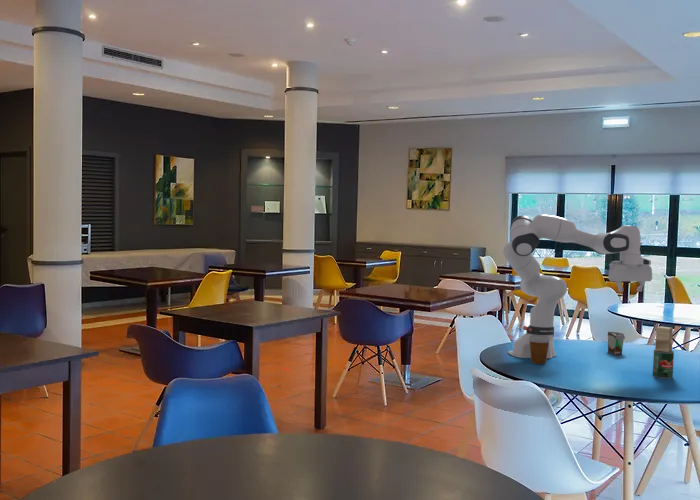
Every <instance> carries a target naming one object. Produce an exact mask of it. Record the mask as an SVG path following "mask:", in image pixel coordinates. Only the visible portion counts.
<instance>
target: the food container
mask: <svg viewBox="0 0 700 500" xmlns="http://www.w3.org/2000/svg"><path fill="white" fill-rule="evenodd" d="M624 340H626V336H625V334H624V333H622V332H617V331H607V352H608V353H609V354H611V355H614V356H621V355H622V354H623V346H624Z"/></svg>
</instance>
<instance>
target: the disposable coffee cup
mask: <svg viewBox="0 0 700 500" xmlns="http://www.w3.org/2000/svg"><path fill="white" fill-rule="evenodd" d="M529 341H530V351H531V358H530V360H531V363H532V364H535V365H537V364H538V365H543V364H545V365H546V362H547V358H546V357H547V351H548V345H549V341H550V340H549V337H548V336H542V335H531V336H530V337H529Z"/></svg>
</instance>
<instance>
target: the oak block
mask: <svg viewBox="0 0 700 500" xmlns="http://www.w3.org/2000/svg"><path fill="white" fill-rule="evenodd" d="M655 329H656V330H655V349H654V350H655V351H662V352H670V351H673V333H674V327H671V326H669V327H668V326H663V325H660V326H656V328H655Z"/></svg>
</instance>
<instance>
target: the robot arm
mask: <svg viewBox="0 0 700 500" xmlns="http://www.w3.org/2000/svg"><path fill="white" fill-rule="evenodd" d="M509 228H510V231H509V232H510V234H509V235H510V241H509V242H508V243H506V244H505V245H504V247H503V250H502V253H503V256H504V258H505V260H506V262H507V263H508V264H509V265H510V267H511V268H512V269H513V271H514V272H515V273H516V274H517V275H518V276H519V278H520V282H519V287H520V290H521V291H522V293H524V294H526V295H528V296H530V297H536V298H538V300H537V303H536V304H535V305H534V306H532V307H531V308H530V313H529V314H530V315H529V317H530V318H529V325H528V326H526V325H523V326H522V330H524V331H526V332H525V333H524V334H523V335H522V336H520V337H519V338H517V339H516V340H515V341H514V343H513V347H512V350H508V354H509V355H510V356H511V357H516V358H519V359H521V358H522V359H531V351H530V341H529V337H530V336H531V335H542V336H548V337H549V340H550V341H549V345H548V351H547V357H546V359H552V358H554V357H556V356H557V355H556V351H555V345H554V343H555V342H554V336H555V326H554V320H555V310H556V307H557V305H558V303H559V301H560V300H561V299H562V298H564V297H565V295H566V293H567V291H568V285H567V282H566V281H565V279H563V278H561V277H558V276H554V275H546V274H543V273H541V272H540V270H541V269H540V268H541V265H540V263H539V261H538V260H537V259H536V258H535V256H533V253H534V252H535V250H536V249H537V247H538V246H539V245H540V243H541V241H540V239H541V240H542V239H546V240H550V241H553V242H559V243H573V244H578V245H581V246H584V247H588V248H590V249H591V250H593V251H594V253H597V254H599V255H601V256H603V255H610V254H613V255H614V254H618V253H619V260H612V261H611V262H609V265H608V266H609V267H608V268H609V270H608V276H607V277H608V280H609V282H615V285H616V286H617V290H618V292H620V293H621V292H622V293H623V292H624V287H622V282H638V284H639V286H638V287H636V292H640V293H641V292H643V287H644V285H645V282H651V281H652V280H653V270H652V266H651V265H652V261H651V260H650V259H648V258H644V257H642V255H641V243H642V240H641V232H640V231H641V230H640V229H639V227H637V226H634V225H628V224H624V225H621V226H620V227H619V228H617V229H615V230H613V231H610V232H599V233H591V232H588V231H584V230H580V229H578V228H576V225H575V223H574V222H573V221H571V220H569V219H567V218H564V217H560V216H557V215H551V214H543V213H542V214H541V213H540V214H537V215H536V216H535V217H533V219H531V218H530V217H529V216H527V215H522V214H521V215H518V216H515V217H514V218H513V219H512V221H511V223H510V227H509Z"/></svg>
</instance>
